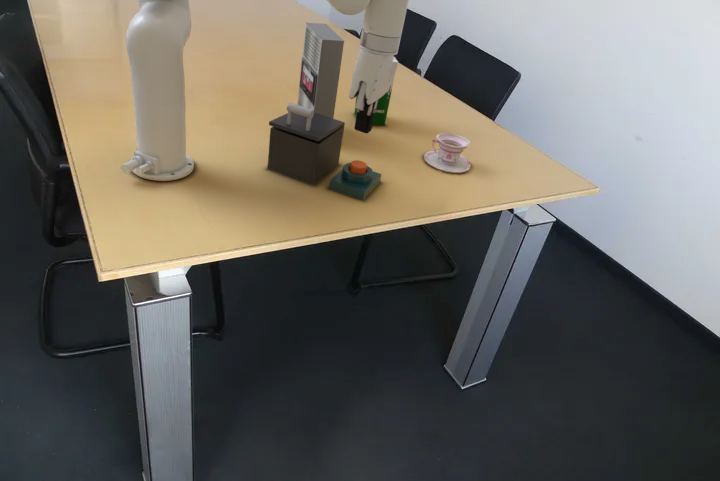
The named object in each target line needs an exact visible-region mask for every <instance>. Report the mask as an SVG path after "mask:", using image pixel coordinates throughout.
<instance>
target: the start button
mask: <svg viewBox="0 0 720 481" xmlns="http://www.w3.org/2000/svg"><path fill="white" fill-rule="evenodd" d="M350 163H351V164H350V171H351V172H352V173H355V174H365V173H366V169H367V166H368V164H367V162H365V161H363V160H357V159H354V160H351V162H350Z"/></svg>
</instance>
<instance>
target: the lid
mask: <svg viewBox="0 0 720 481" xmlns="http://www.w3.org/2000/svg"><path fill="white" fill-rule="evenodd" d="M286 111H287V113H285V114H282V115H280V116H278V117H276V118H274V119H272V120H269V122H268V126H270V127H276V128H279V129H282V130H285V131H288V132H291V133H294V134H297V135H300V136H303V137H306V138H309V139H312V140H315V141H320V140H321V139H323V138H325V137H326V136H328V135H330V134H331V133H333V132H335V131H336V130H338V129H340V128H341V127H343V126H344V127H345V124H346V122H345V121H341V120H340V119H339V120H338V119H336V118H330V117H327V116H323V115H320V114H317V113H314V110H311V109H308V108H305V107H302V106H299V105H298V104H296V103H292V102H288V103H287V105H286Z"/></svg>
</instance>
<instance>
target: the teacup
mask: <svg viewBox="0 0 720 481" xmlns="http://www.w3.org/2000/svg"><path fill="white" fill-rule="evenodd" d="M435 138H436V139H432V143H431V145H432V149H431V150H428V151H426V152H425V153H424V155H423V159H424V161H425V163H427V164H428V165H429V166H431V167H433V168H434V169H436V170H440V171H442V172H447V173H451V174H452V173H453V174H460V173H461V174H462V173H466V172H468V171H470V169H471V166H472V165H471V164H472V163H471V162H470V161H469V160H468V159H467V158H466V157H465V156H463V155H461V154H462V153H463V152H464V150H465V149H467V148H468V147H469V146H470V144H471V142H470V140H469V139H468V138H466V137H464V136H461V135H458V134H456V133H451V132H442V133H438V134H436V136H435ZM435 144H438V146H439V149H436V148H435Z"/></svg>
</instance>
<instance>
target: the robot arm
mask: <svg viewBox="0 0 720 481" xmlns="http://www.w3.org/2000/svg"><path fill="white" fill-rule="evenodd" d="M326 1H327V2H328V3H329V4H330V6H331V7H333V8H334V10H335V11H337V12H339V13H341V14H343V15H345V16H356V15H358V14H361V13H362V12H363V11H364V16H363V21H362V26H361V27H362V28H361V32H360V38H359V44H358V47H359V52H358V54H357V58H356V61H355V64H354V69H353V73H352V77H351V81H350V86H349V91H348V98H349V99H350V100H353V99H356V97H357V96H358V98H357V102H356V101H355V103H356V106H355V105H354V110H355V109H357V116H355V117H356V119H355V122H354V127H353V128H354V130H355V131H357V132H361V133H363V134H366V135H368V134H370V132H372V129H373V125H372V124H373V119H374V114H373V113H375V111H376V107H377V103H378V99H379V98H381V97H382V96H383V95H384V94H385V93H386V91H387V88H388V84H389V80H390V74H391V69H392V63H393V56H396V55H398V53H399V47H400V43H401V39H402V34H403V29H404V25H405V19H406V15H407V11H408V6H409V2H410V0H326ZM137 2H138V8H139V11H138V12H136V14H135V15H134V16H133V18H131V20H130V22H129V25H128V27H127V31H126V37H125V42H126V51H127V57H128V63H129V67H130V75H131V87H132V96H133V110H134V111H133V112H134V126H135V127H134V128H135V140H136V141H135V142H136V149H135V150H133V156H132V157H131V158H130V160H129V161H126V162H124V163H122V164H121V166H120V169H121V171H122V172H123V173H124V174H129V173H131V172H132V173H133V174H135V175H136V176H138V177H140V178H142V179H146V180H150V181H156V182H168V181H169V182H170V181H175V180H180V179H183V178H185V177H187V176H188V175H189V176H190V175H191V173H192V172H193V171H194V168H195V163H194V162H195V161H194V160H193V158H192V157H191V156H190V155H188V154H187V130H186V129H187V125H186V123H187V122H186V84H185V83H186V82H185V68H184V49H185V47H186V44H187V42H188V39H189V38H190V36H191V33H192V32H191V31H192V16H191V6H190V0H137Z"/></svg>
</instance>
